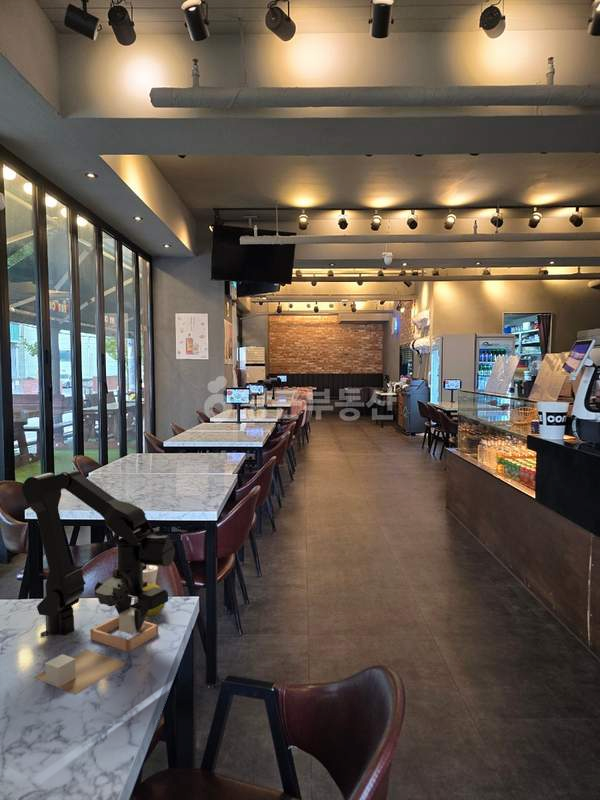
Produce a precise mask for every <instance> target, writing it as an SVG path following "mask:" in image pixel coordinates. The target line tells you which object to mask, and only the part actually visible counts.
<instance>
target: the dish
mask: <svg viewBox="0 0 600 800" xmlns="http://www.w3.org/2000/svg"><path fill="white" fill-rule="evenodd" d="M116 628H119V615H118V616H115V617H114V618H112V619H111V618H110V619H109V620H107V621H105V622H103V623H102V624H99V625H97V626H95V627H93V628H91V629H90V631H89V632H90V640H93V641H95V642H98V643H101V644H105V645H107V646H109V647H112V648H113V647H114V648H116V649H119V650H123V651H125V652H130V651H132V650H134V649H135V648H137V647H139V646H140V645H142V644H143V643H146V642H147V641H149V640H151V639H153V638H154V637H156V636H158V635H159V624H157V623H156V624H155V623H152V622H150V621H149V622H148V621H146V620H144V628H142V629H140V630H139V631H141V632H139V633H138V634H136V635H134V636H133V637H130V638H129V639H126V638H123V637H120V636H118V635H116V634H115V635H114V634H111V633H109V632H110V631H112V630H114V629H116Z"/></svg>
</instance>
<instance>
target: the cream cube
mask: <svg viewBox="0 0 600 800" xmlns="http://www.w3.org/2000/svg"><path fill="white" fill-rule="evenodd" d="M118 616H119V626H118V631H120V632H123V633H127V634H128V635H129V634H130V635H133V634H135V633H136V632H138V631H137V630H136V627H135V616H134V610H133V609H132V608H129V609H127V610H125V611H123V612H121V613H119V615H118ZM142 628H144V622H143V625H142V627H141V629H142Z"/></svg>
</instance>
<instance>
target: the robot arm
mask: <svg viewBox="0 0 600 800" xmlns="http://www.w3.org/2000/svg"><path fill="white" fill-rule="evenodd" d="M62 490H66V491H67V492H69V493H70V494H72V495H73V497H74V496H75V497H76V498H77V499H78V500H79V501H82V502H83V504H85V505H86V506H88V507H89V508H91V509H92V510H94V511H95V512H96V513H98V514H99V516H101V517H102V518H103V520H104V522H105V524H106V526H107V528H109V529H110V531H112V532H113V533H114V535H113V537H111V538H110V539H109V540H108V541H107V544H108V545H116V563H117V564H116V567H115V568H113V570H112V576H110V577H108V578H105V579H103V580H100V581H97V582H96V584H95V586H94V595H95V596H97V599H98V602H99V604H100V605H105V606H108V607H115V610H116V612H117V614H118V616H119V613H121V612H123V611H125V610H127V609H129V608H132V609H133V610H134V616H135V627H136V630H137V632H138V631H140V629H141V627H142V625H143V622H144V621H146V618H147V617H146V615H147V613H148V611H149V610H151V609H154V608H156V607H158V606H160V605H162V604H164V603H165V604H166V603H167V602H169V591H168V590H167V589H164V588H161V587H160V588H157V587H153V588H151V589H149V590H147V591H144V590H143V588H144V587H146V586H147V582H146V581H143V570H145V569H147V565H154V566H157V567H166V568H167V567H170V566H171V565H172V563H173V562H174V558H175V553H176V550H175V549H176V548H175V546H174V543H173V542H172V540H171V536H170V535H156V533H157V532H156V531H155V529H154V527H152V525H151V523H150V522H149V520H148V519H147V517H146V513H145V511H144V510H143V509H142V508H140V507H138V506H137V505H134V504H132V503H130V502H125V501H121V500H119V499H116V498H115V497H114V496H112V495H111V494H110V493H108V492H106V491H105V490H104V489H103V488H101V487H100V486H98V485H97V484H95V483H94V482H93V481H91V480H90V479H89V478H87V477H86V476H84V474H82V472H81V471H80V470H77V469H71V470H67V471H63V472H60V473H59V474H55V473H53V472H46V473H41V474H37V475H32V476H29V477H27V478H26V479H25V480H24V481H23V483H22V484H21V491H22V494H23V497H24V500H25V502H26V504H27V506H28V507H29V508H30V509H31V510H32V511H33V512H34V513H35V515H36V519H37V523H38V528H39V533H40V536H41V541H42V545H43V549H44V555H45V558H46V562H47V567H48V575H47V578H46V581H45V585H44V587H45V597H44V598H43V599H42V600H41V601H40V602H39V603H38V604H37V605H36V609H37V612H38V615H39V616H45V631H44V630H43V631H42V632H40V634H39V635H40V636H42V637H44V638H45V637H47V636H50V635H52V636H59V635H60V636H67V635H70V634H71V633H73V632H75V615H74V608H73V606H74V605H75V604H78V603H79V602H80V599H81V596H82V595H83V593H84V592H85V585H86V581H85V580H84V575H83V573H84V572H83V570H82V568H79V569H76V568H75V567H74V566H73V564H72V563H71V559H70V554H69V550H68V547H67V542H66V536H65V534H64V533H65V532H64V528H63V525H62V520H61V519H62V518H61V515H60V512H59V511H60V510H59V504H60V502H61V497H62ZM140 531H141V532H140ZM137 532H139V533H137ZM135 533H137V534H135ZM133 598H134V599H135V598H137V600H136V603H135V604H134V603H133V604H132V600H133ZM165 604H164V605H165Z"/></svg>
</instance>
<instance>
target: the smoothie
mask: <svg viewBox="0 0 600 800" xmlns="http://www.w3.org/2000/svg"><path fill="white" fill-rule="evenodd" d="M158 572H159V566H154V565H147V569H145V570H143V581H146V582H147V584H155V585H157V584H156V583H157V574H158Z"/></svg>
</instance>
